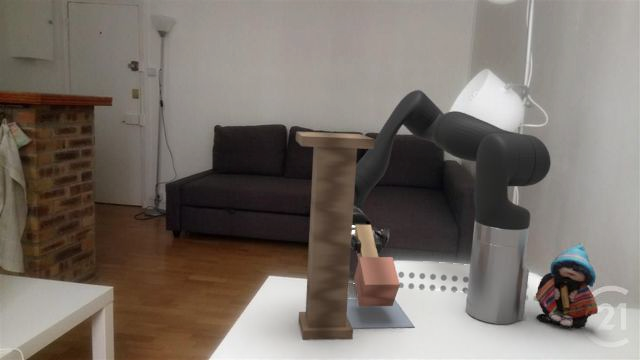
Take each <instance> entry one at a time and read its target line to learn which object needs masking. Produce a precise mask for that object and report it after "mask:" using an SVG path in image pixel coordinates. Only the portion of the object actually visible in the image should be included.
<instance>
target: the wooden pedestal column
mask: <svg viewBox="0 0 640 360" xmlns="http://www.w3.org/2000/svg"><path fill="white" fill-rule="evenodd" d="M375 139H376V138H373V137H369V136H367V135H363V134H362V133H341V132H337V133H336V132H318V131H317V132H316V131H296V132H295V141H296V142H297V143H298V144H299V145H300V146H301V147H308V148H309V147H310V148H313V152H312V153H313V154H312V155H313V156H312V170H311V171H312V174H311V176H312V177H311V190H310V191H311V195H310V212H309V213H310V214H309V215H310V216H309V233H308V255H307V256H308V257H307V259H308V260H307V274H306V275H307V277H306V294H305V295H306V297H305V299H306V300H305V311H299V312H298V323H299V324H298V325H299V327H300V332H301V337H302V340H303V341H304V340H305V341H306V340H310V341H311V340H353V337H354V336H353V335H354V329H353V328H352V326H351V324H350V322H349V319H348V317H347V301H348V299H349V297H348V296H349V283H350V267H351V266H350V265H351V251H352V250H351V249H352V248H351V237H352V221H353V205H354V189H355V174H356V164H357V157H358V156H357V155H358V154H357V153H358V149H361V150H363V149H364V150H367V149H368V150H369V149H374V141H375Z"/></svg>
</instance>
